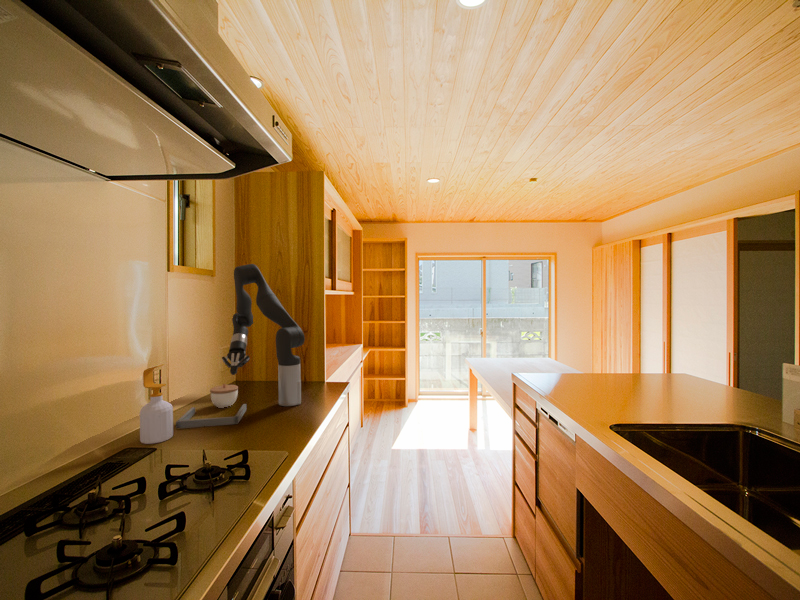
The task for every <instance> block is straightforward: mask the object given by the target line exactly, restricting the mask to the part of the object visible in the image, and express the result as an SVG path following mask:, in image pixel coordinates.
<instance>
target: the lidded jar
mask: <svg viewBox="0 0 800 600" xmlns="http://www.w3.org/2000/svg"><path fill="white" fill-rule="evenodd" d="M209 392H210V399H211V402H212V404H213V405H214V406H215V407H216V408H217V407H218V409H225V408H224V407H227V408H229V407H228V406H230V407H232V406H233V404H234V403H235V402H236V401H237V398H238V396H239V394H238V393H239V386H238V385H236V384H226V383H223V384H222V385H217V386H214V387H213V386H212V387H211V388H210V390H209ZM231 405H232V406H231Z"/></svg>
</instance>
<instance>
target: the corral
mask: <svg viewBox="0 0 800 600" xmlns="http://www.w3.org/2000/svg"><path fill="white" fill-rule="evenodd" d="M246 412H247V403H243V404H242V405H241V406H240V408H239V410H238V411H237V412H236V414H235V415H234V416H224V417H223V416H221V417H211V418H210V417H209V418H207V417H206V418H197V419H196V418H194V419H192V417H193V416H194V415H195V414H196V407H194V406H192V407H190V409H189V410H187V411H186V412H184V414H182V416H181V417H180V418H178V419H177V420H176V421H175V425H176V426H175V427H176V428H175V429H176V430H177V428H180V429H190V428H192V429H193V428H202V427H203V428H204V426H205V427H217V426H229V425H231V426H232V425H238V424H239V422H240V421H241V420H242V418H243V416H244V414H245V413H246Z"/></svg>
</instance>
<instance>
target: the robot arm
mask: <svg viewBox="0 0 800 600" xmlns="http://www.w3.org/2000/svg"><path fill="white" fill-rule="evenodd" d="M233 269H234V270H233V280H234V287H235V295H236V312H235V313H234V314H233V315H232V317H233V318H231V321H232V322H231V323H232V325H233V331H232V336H231V341H230V344H229V349H228V353H226V355H225V356H222V357H221V360H222V362H223V364H225V365H226V367H227V368H228V369H229V368H230V370H229V373H230V375H232V376H235V375H236V374H238V368H242V367H244V365H246V364H247V363H248V362H249V361H250V360H251V359H250V356H249V355H246V351H247V346H248V335H249V329H248V327H249V328H250V327H252V326H253V325H252V324H254V322H253V318H254V315H253V311H252V304H253V303H252V302H253V300H252V298H251V296H250V294H249V293H248V292H247V291H246V290H245V289H244V286H245V285H251V284H256V286H257V293H256V298H255V303H256V306H257V307H258V309H259V310H260V312H261V313H262V315H263V316H264V317H266V319H269V320H270V321H271V322H273V323H274V324H276V325H278V326H279V327H280V328H279V329H278V330H277V332H276V334H275V348H276V349H275V352H276V359H277V363H278V366H277V367H278V374H277V375H278V378H277V379H278V381H277V382H278V405H279V406H283V407H292V406H297V405H301V403H302V379H301V378H302V377H301V374H302V373H301V357H300V356H299V355H294V354H293V352H292V351H293V350H292V349H294V348H299V347H302V346H303V345H304V343H305V342H306V341H305V340H306V339H305V334H304V332H303V329H302V328H301V326H299V324H298V323H297V322H296V321H295V320H294V319H293V318H292V317H291V316H290V314H289V312H287V310H286V309H285V308H284V306H283V304H282V303H281V301H280V300H279V298H278V297H277V296H276V294H275V293H274V292H273V290H272V289H271V287H270V285H269V284H268V283H267V281H266V279H265V277H264V275H263V273H262V272H261V270H260V269H259V267H258V266H257V265H256V264H254V263H249V264H243V265H238V266H236V267H235V268H233ZM251 325H252V326H251ZM229 361H230V362H229Z"/></svg>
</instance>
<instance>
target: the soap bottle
mask: <svg viewBox="0 0 800 600" xmlns="http://www.w3.org/2000/svg"><path fill="white" fill-rule="evenodd" d="M163 366H165V364H164V363H162V364H159V365H155V366H152V367H149V368H146V369H144V370H143V372H142V379H143V380H142V382H143V383H142V384H143V385H142V386H143V387H144V388H145V389H151V391H152V392H153V393H151V394H150V396H149V398H150V400H149V402H148V403H146V404H145V405H143V406H141V408H140V411H139V441H140V443H142V444H146V445H153V444H159V443H163V442H167V440H169V439H172V438H173V436H174V407H173V405H172V403H170V402H168V401H166V400H164V399H163V392H160V390H162V388H163V387H166V386H167V383H155V382H154V370H155V369H156V368H159V367H163Z"/></svg>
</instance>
